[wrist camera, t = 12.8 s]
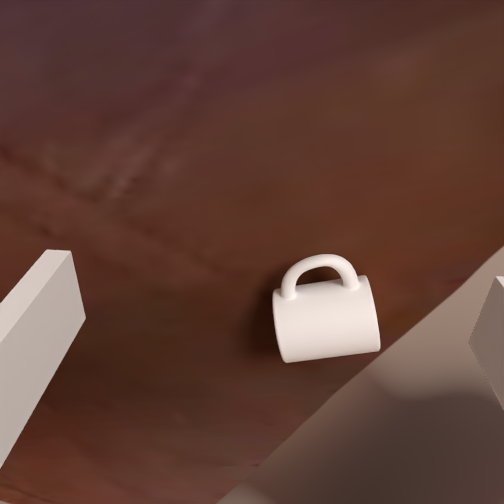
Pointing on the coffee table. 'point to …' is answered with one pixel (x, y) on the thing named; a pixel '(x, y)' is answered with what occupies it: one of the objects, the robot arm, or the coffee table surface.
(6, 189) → the coffee table surface
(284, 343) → the mug
